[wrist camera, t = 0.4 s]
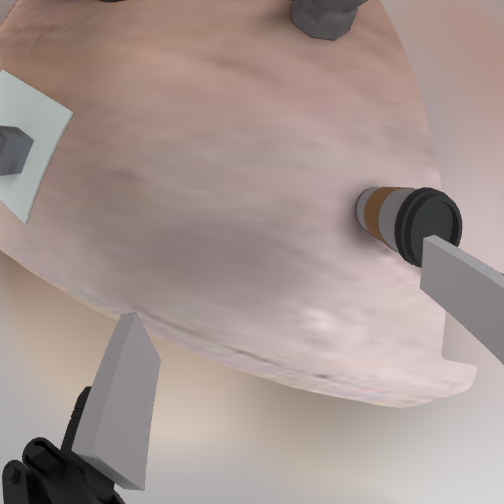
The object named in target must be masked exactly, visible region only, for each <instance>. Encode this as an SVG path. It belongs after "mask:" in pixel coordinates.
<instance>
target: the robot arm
mask: <svg viewBox="0 0 504 504" xmlns="http://www.w3.org/2000/svg"><path fill="white" fill-rule="evenodd" d="M102 1H108V2H112V1H120V0H102ZM420 289H421V290H423V291H424V292H425V293H426V294H427V295H429V296H430V297H431V298H432V299H433V300H435V301H436V302H437V303H438V304H439V305H440V306H442V307H443V308H444V309H445V310H446V311H447V312H448V313H450V314H451V315H452V316H453V317H454V318H455V319H456V320H457V321H459V322H460V323H461V324H462V325H463V326H464V327H465V328H466V329H467V330H468V331H470V332H471V333H472V334H473V335H474V336H475V337H476V338H477V339H478V340H479V341H480V342H481V343H482V344H483V345H484V346H485V347H486V348H487V349H489V350H490V351H491V352H492V353H493V354H494V355H495V356H496V357H497V358H498V359H499V360H500V361H501V362H502V363H503V365H504V274H502V273H499V272H498V271H496V270H495V269H493V268H491V267H490V266H488V265H487V264H485V263H483V262H482V261H480V260H478V259H477V258H475V257H473V256H472V255H470V254H468V253H466V252H465V251H463V250H461V249H459V248H458V247H456V246H454V245H452V244H450V243H449V242H447V241H445V240H443V239H441V238H439V237H438V236H436V235H432V236H429V237H426V238H423V258H422V271H421V281H420ZM160 362H161V359H160V357H159V355H158V353H157V352H156V350H155V348H154V346H153V344H152V342H151V340H150V338H149V336H148V334H147V332H146V330H145V328H144V326H143V324H142V322H141V320H140V318H139V316H138V314H137V312H134V313H129V314H124V315H121V317H120V319H119V321H118V323H117V326H116V328H115V330H114V333H113V335H112V337H111V340H110V342H109V344H108V347H107V349H106V351H105V354H104V356H103V359H102V361H101V364H100V366H99V369H98V372H97V374H96V377H95V379H94V382H93V385H92V386H91V387H86V388H85V389H84V390H83V392H82V393H81V394H80V395H79V397H78V399H77V402H76V404H75V407H74V409H75V410H73V413H72V415H71V420H70V421H69V424H68V427H67V430H66V433H65V436H64V440H63V443H62V446H61V449H60V450H59V449H58V448H57V447H55V446H54V445H53V444H52V443H51V442H50V441H49V440H47V439H45V438H41V437H38V438H35V439H32V440H31V441H30V442H29V443H28V444H27V445H26V447H25V449H24V451H23V455H22V461H23V463H22V462H20V461H18V460H12V461H10V462H8V463H7V464H6V466H5V467H4V470H3V474H2V485H3V497H4V498H3V499H4V504H125V503H124V501H123V500H122V498H121V497H120V496H119V494H118V493H117V492H116V491H115V490H114V484H115V483H116V484H117V485H119V486H120V487H122V488H124V489H129V490H142V491H144V490H145V476H146V465H147V454H148V445H149V436H150V427H151V420H152V412H153V406H154V399H155V392H156V386H157V380H158V374H159V368H160ZM24 464H25V465H26V466H25V465H24Z"/></svg>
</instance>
